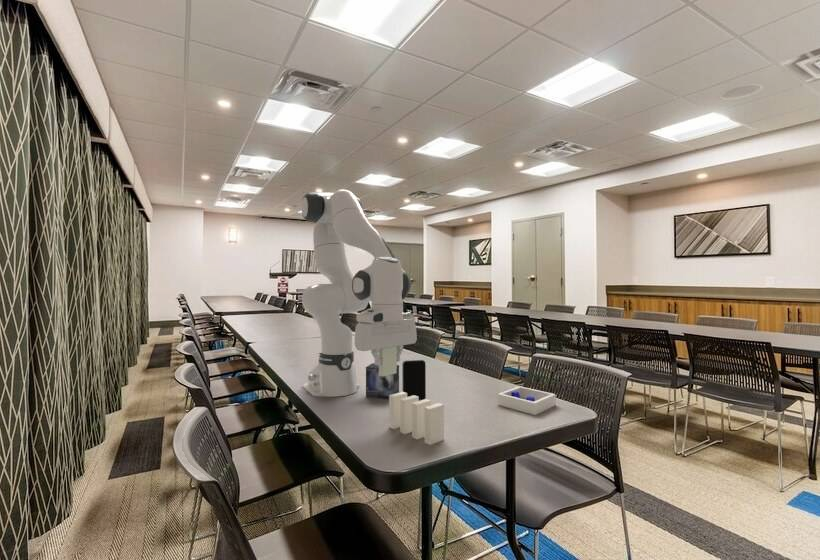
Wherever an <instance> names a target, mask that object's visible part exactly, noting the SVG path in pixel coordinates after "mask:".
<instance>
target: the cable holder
mask: <svg viewBox="0 0 820 560" xmlns="http://www.w3.org/2000/svg"><path fill="white" fill-rule="evenodd" d="M511 396H513V397H517V398H520V395H519V392H517V391H514V392H511ZM525 400H529V401H533V402H534V401H535V398H534V397H526V399H525Z"/></svg>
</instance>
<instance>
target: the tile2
mask: <svg viewBox="0 0 820 560" xmlns="http://www.w3.org/2000/svg"><path fill="white" fill-rule="evenodd" d="M406 397H407V393H405V392H402V391H399V393H396V394H392V395H389V399H388V401H389V402H388V406H389V407H388V411H389V412H388V413H389V414H388V416H389V417H388V419H389V420H388V421H389V422H388V427H389V428H390V429H392V430H396V429H400V399H402V398H406Z"/></svg>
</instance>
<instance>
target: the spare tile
mask: <svg viewBox="0 0 820 560" xmlns="http://www.w3.org/2000/svg"><path fill="white" fill-rule="evenodd" d="M378 354H379V356H380V358H383V361H382V362H383V364H382V365H379V375H380V376H386V375H391V374H395V373H397V365H398V364H397V350H396V346H395V347H389V348H382V349H380V353H378Z"/></svg>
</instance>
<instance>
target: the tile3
mask: <svg viewBox="0 0 820 560" xmlns="http://www.w3.org/2000/svg"><path fill="white" fill-rule="evenodd" d="M417 401H419V397H418V396H415V395H413V396H409V397H406V398H402V399H400V427H399V432H400V433H401V434H402V435H403V434H404V435H407V434H409V433H412V403H414V402H417Z"/></svg>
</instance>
